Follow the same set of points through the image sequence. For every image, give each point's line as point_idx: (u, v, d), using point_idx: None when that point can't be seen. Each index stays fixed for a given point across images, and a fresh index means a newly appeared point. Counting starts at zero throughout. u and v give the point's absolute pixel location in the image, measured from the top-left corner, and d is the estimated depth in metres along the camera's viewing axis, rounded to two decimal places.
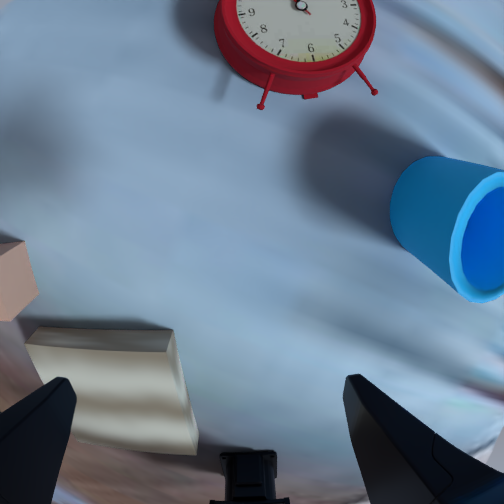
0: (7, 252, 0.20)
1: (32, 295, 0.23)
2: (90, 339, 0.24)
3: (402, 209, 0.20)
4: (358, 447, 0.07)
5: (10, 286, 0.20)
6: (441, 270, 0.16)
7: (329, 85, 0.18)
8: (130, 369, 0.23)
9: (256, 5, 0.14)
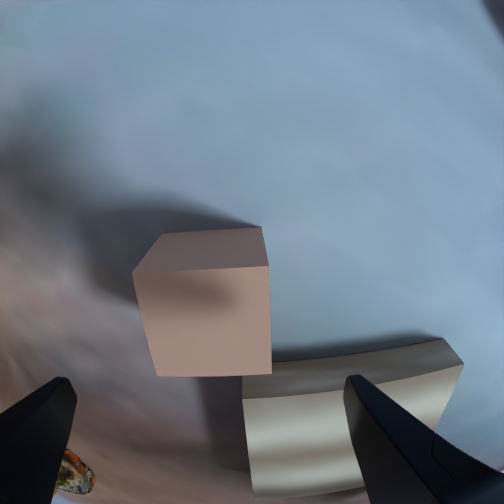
0: None
1: None
2: (359, 370, 0.17)
3: None
4: (358, 447, 0.07)
5: None
6: None
7: None
8: (413, 396, 0.17)
9: None
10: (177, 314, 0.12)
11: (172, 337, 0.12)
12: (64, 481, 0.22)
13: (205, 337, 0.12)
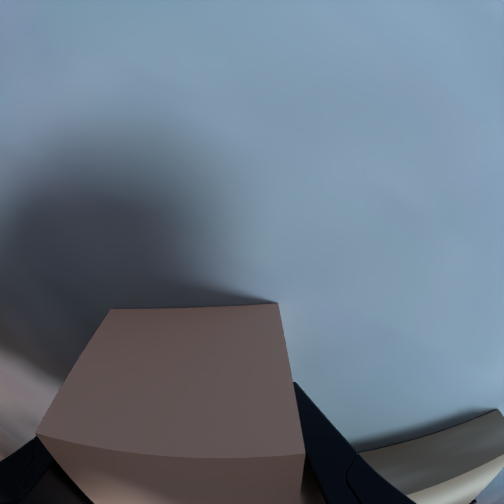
0: (288, 367, 0.06)
1: None
2: (401, 470, 0.10)
3: None
4: None
5: None
6: None
7: None
8: (460, 486, 0.10)
9: None
10: (130, 492, 0.05)
11: None
12: None
13: None
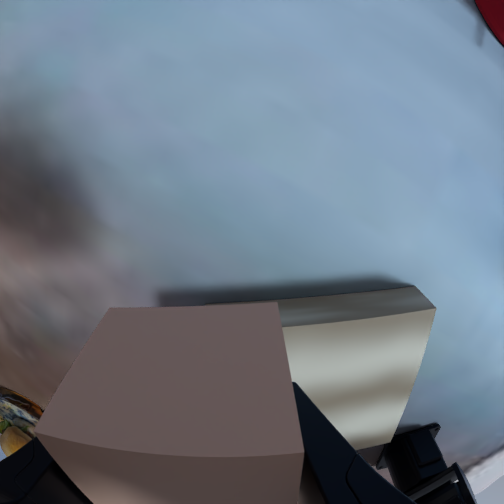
0: (287, 366, 0.06)
1: None
2: (322, 309, 0.18)
3: None
4: None
5: None
6: None
7: None
8: (383, 341, 0.18)
9: None
10: (128, 491, 0.05)
11: None
12: None
13: None
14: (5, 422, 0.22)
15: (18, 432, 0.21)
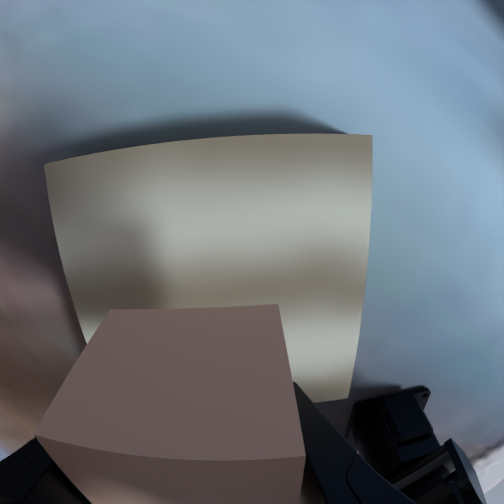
0: (289, 368, 0.06)
1: None
2: None
3: None
4: None
5: None
6: None
7: None
8: (289, 180, 0.12)
9: None
10: (129, 494, 0.05)
11: None
12: None
13: None
14: None
15: None
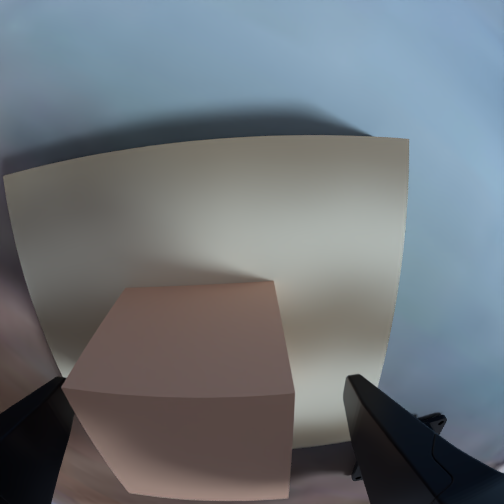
0: (282, 329, 0.08)
1: None
2: None
3: None
4: (358, 447, 0.07)
5: None
6: None
7: None
8: (305, 197, 0.09)
9: None
10: (142, 444, 0.06)
11: (139, 464, 0.07)
12: None
13: (189, 469, 0.07)
14: None
15: None
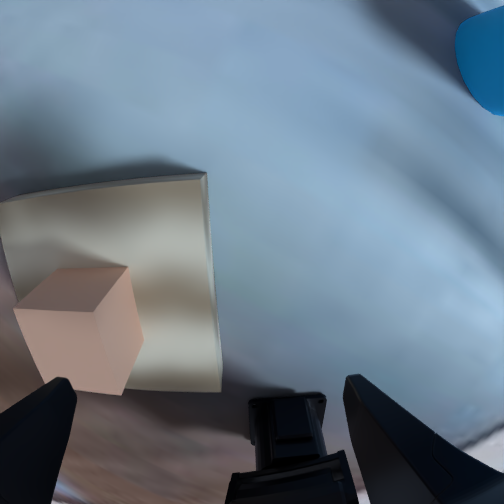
0: (111, 289, 0.15)
1: (138, 345, 0.18)
2: (86, 187, 0.17)
3: (471, 42, 0.13)
4: (358, 447, 0.07)
5: (117, 341, 0.15)
6: None
7: None
8: (138, 219, 0.16)
9: None
10: (45, 340, 0.13)
11: (46, 356, 0.13)
12: None
13: (66, 360, 0.13)
14: None
15: None
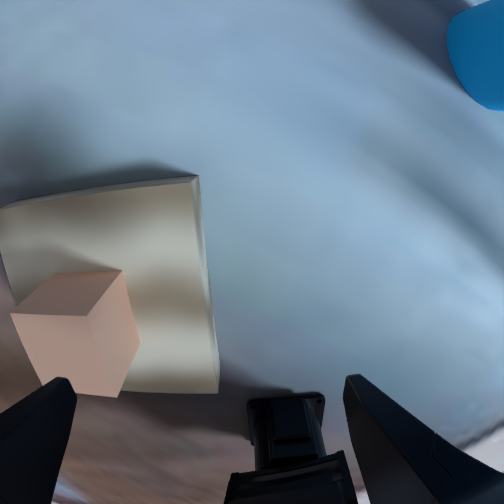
0: (105, 293, 0.15)
1: (134, 348, 0.18)
2: (80, 192, 0.17)
3: (463, 36, 0.13)
4: (358, 447, 0.07)
5: (112, 344, 0.15)
6: None
7: None
8: (131, 223, 0.16)
9: None
10: (41, 344, 0.13)
11: (43, 360, 0.13)
12: None
13: (62, 363, 0.13)
14: None
15: None
